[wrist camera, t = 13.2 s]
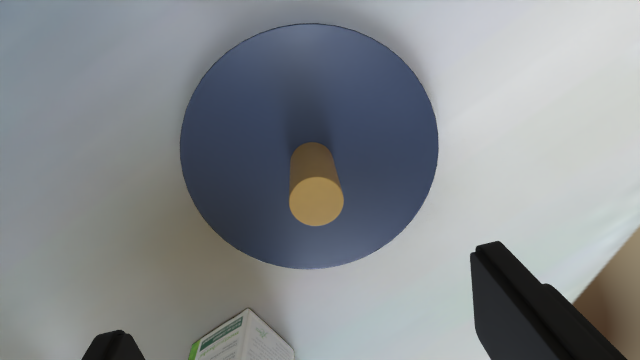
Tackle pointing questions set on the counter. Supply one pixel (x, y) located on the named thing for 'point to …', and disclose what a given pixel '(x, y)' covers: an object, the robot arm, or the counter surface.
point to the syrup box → (242, 341)
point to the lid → (309, 146)
